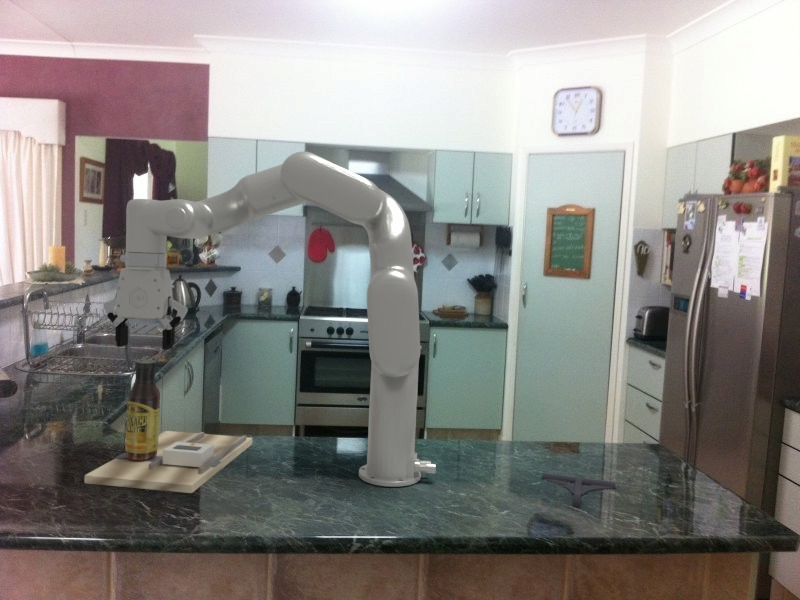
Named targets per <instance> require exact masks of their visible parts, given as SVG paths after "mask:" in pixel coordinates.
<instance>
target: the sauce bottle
mask: <svg viewBox="0 0 800 600" xmlns="http://www.w3.org/2000/svg"><path fill="white" fill-rule="evenodd" d="M157 365H158V363H157V360H155V359H147V358H146V359H137V360H135V363H134V369H135V379H134V382H133V385H132V388H131V392H130V394H129V397H128V399H127V403H126V405H127V406H126V423H125V425H126V426H125V444H124V445H125V446H124V448H125V449H124V450H125V453H126V457H127V458H128V459H131V460H139V461H143V460H148V459H151V458H154V457H155V456H156V455H157V449H158V436H159V434H160V433H159V432H160V430H159V429H160V415H161V413H160V412H161V407H160V406H161V405H160V403H161V402H160V401H161V393H160V390H159V389H158V387H157V384H156V369H157Z"/></svg>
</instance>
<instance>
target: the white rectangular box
mask: <svg viewBox="0 0 800 600" xmlns="http://www.w3.org/2000/svg"><path fill="white" fill-rule="evenodd" d="M213 457H214V445H211V444H199V443H187V442H175V443H174V444H172V445H170V446H169V447H167V448H165V449H164V450H163V464H169V465H180V466H191V467H201V466H203V465H204V464H205V463H207V462H208V461H209V460H211V459H212V458H213Z"/></svg>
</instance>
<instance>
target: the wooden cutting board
mask: <svg viewBox="0 0 800 600" xmlns="http://www.w3.org/2000/svg"><path fill="white" fill-rule="evenodd" d="M175 442H187V443H199V444H211V445H214V457H213V458H212V459H211V460H209V461H208V462H207V463H205V464H204V465H203V466H201V467H191V466H180V465H169V464H163V450H164V449H165V448H167V447H169V446H170V445H172V444H174V443H175ZM252 445H253V437H247V435H246V434H245V435H242V436H234V435H222V434H221V435H220V434H209V433H205V432H204V431H201V432H186V431H185V432H184V431H175V430H173V431H172V430H165V431H163V432H161V433H159V436H158V449H157V455H156V456H155V457H154V458H151V459H148V460H143V461H139V460H131V459H128V458H127V457H126V452H123V453H121V454H119V455H117V456H115V458H114V459H112V460H110V461H108V462H106V463H104V464H103V465H101V466H99V467H96V468H95V469H94V470H92V471H90V472H88V473H86V474H84V480H83V481H84V482H83V483H84V484H89V485H100V486H109V487H110V486H113V487H121V488H129V489H130V488H131V489H134V488H135V489H141V490H142V489H144V490H151V491H152V490H153V491H164V492H175V493H184V494H186V493H187V494H193V493H194V492H195V491H196V490H198V489H199V488H200V487H201V486H202V485H204V484H205V483H207V481H209V480H210V479H211V478H213V476H216V474H218V473H219V472H220V471H222V469H224V468H225V467H227V466H228V465H229V464H230V463H231V462H232V461H234V460H235V459H236V458H237V457H239V455H241V454H242V453H243V452H244V451H246V450H247V449H249V447H250V446H252Z"/></svg>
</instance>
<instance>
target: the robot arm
mask: <svg viewBox="0 0 800 600" xmlns="http://www.w3.org/2000/svg"><path fill="white" fill-rule="evenodd" d="M307 203H310V204H312V205H314V206H316V207H319V208H320V209H322V210H325V211H327V212H329V213H331V214H333V215H335V216H338V217H340V218H341V219H344V220H347V221H348V222H350V223H353V224H355V225H359V226H362V227H363V228H364V229H365V231H366V233H367V236H368V246H369V247H368V249H369V250H368V252H369V259H370V260H369V261H370V280H369V283H368V286H367V290H366V308H367V309H366V310H367V313H366V314H367V331H368V347H369V357H370V361H371V366H370V367H371V369H370V390H369V404H368V405H369V409H368V410H369V411H368V431H367V433H368V435H367V456H366V458H367V459H366V464H364V465H362V466H360V468H359V469H358V476H359V478H360V479H361V480H362V481H364V482H366V483H368V484H370V485H373V486H378V487H387V488H388V487H389V488H390V487H391V488H393V487H395V488H398V487H399V488H400V487H407V486H411V485H414V484H417V483H418V482H419V481H420V480H421V478H422V473H426V474H436V472H437V464H436V463H432V461H431V460H420V458H418V453H417V452H415V447H416V426H417V425H416V424H417V423H416V422H417V406H418V405H417V404H418V387H419V386H418V385H419V384H418V383H419V363H420V357H421V334H420V313H419V312H420V311H419V310H420V309H419V293H418V291H419V290H418V287H417V284H416V280H415V273H414V272H415V268H414V255H413V254H414V253H413V244H412V232H411V227H410V223H409V219H408V216H407V214H406V213H405V211H404V208H402V206H401V205H400V203H399V202H398V200H397V199H395V198H394V197H393V196H391V195H390V194H389V193H387V192H385V191H383V190H382V189H380V188H379V187H378V186H377V185H376V184H375V183H374V182H373V181H371V180H370V179H368V178H366V177H364V176H362V175H360V174H357V173H356V172H353V171H351V170H349V169H346V168H345V167H342V166H340V165H338V164H335V163H333V162H332V161H329V160H327V159H325V158H323V157H321V156H319V155H317V154H315V153H314V152H313V153H312V152H310V151H305V150H304V151H297V152H296V151H295V152H294V153H292V154H290V155H289V156H287V157H286V159H285V160H284V161H283V162H282V164H279V165H276V166H273V167H269V168H267V169H264V170H260V171H257V172H255V173H251V174H247V175H246V176H243V177H242V178H241V179H239V181H237V183H236V184H235V185H234V186H233V187H232V188H230V189H229V190H227V191H224V192H222V193H220V194H216V195H213V196H211V197H207V198H204V199H201V200H198V201H194V200H187V199H181V198H177V199H167V200H166V199H165V200H158V199H149V198H133V199H130V200H128V202H127V205H126V212H125V213H126V217H125V220H126V221H125V222H126V223H125V226H126V229H125V230H126V232H125V252H124V254H122V255H120V257H119V260H120V262H121V263H124V265H125V267H124V268H121V269H120V273H119V276H118V281H117V289H116V297H115V298H113V299H111V300H108V301H106V302H104V304H103V309H104V311H105V313H106V314H107V315H106V316H107V318H108V319H109V321H111V323H112V326H113V327H114V328H115V334H114V335H115V339H114V340H115V342H116V347H117V348H120V347H125V346H127V345H128V344H129V326H128V325H127V324H126V323H128V322H129V320H130V319H131V320H141V321H142V320H144V321H145V320H146V321H160V323H161V324H162V325H163V327H164V329H163V330H162V345H161V346H162V350H165V351H167V350H170V349H173V347H174V345H175V342H176V341H175V338H176V337H175V335H176V334H175V333H176V330H175V329H177V328H178V326H179V325H180V324H181V323H183V322H184V319H185V317H186V315H187V314H188V311H189V309H188V307H187V306H185V305H184V304H182V303H181V302H178V301H177V300H175V299H174V297H173V287H172V285H173V284H172V279H171V274H170V270H169V269H167V242H168V241H167V239H168V237H173V238H177V239H178V238H179V239H193V240H194V239H195V240H197V239H202V238H206V237H209V236H212V235H215V234H218V233H221V232H224V231H227V230H230V229H234V228H236V227H238V226H242V225H244V224H247V223H250V222H254V221H257V220H258V219H261V218H263V217H266V216H270V215H272V214H275V213H278V212H281V211H285V210H288V209H290V208H294V207H297V206H300V205H303V204H307ZM173 310H175V311H177V312H176V316H174V317H172V315H173Z"/></svg>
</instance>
